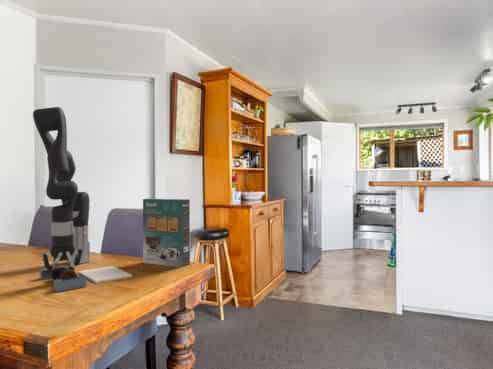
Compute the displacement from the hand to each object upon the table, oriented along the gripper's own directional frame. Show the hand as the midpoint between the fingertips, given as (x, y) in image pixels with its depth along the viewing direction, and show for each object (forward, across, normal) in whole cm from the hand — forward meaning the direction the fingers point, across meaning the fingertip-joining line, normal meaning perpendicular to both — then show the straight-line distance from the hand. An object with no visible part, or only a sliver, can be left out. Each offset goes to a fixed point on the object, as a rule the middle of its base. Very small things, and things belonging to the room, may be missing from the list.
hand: (62, 278), depth 135 cm
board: (+1, -16, 0) cm, 16 cm away
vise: (+2, 0, -3) cm, 3 cm away
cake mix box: (+2, -45, -2) cm, 45 cm away
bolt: (+1, 0, 0) cm, 1 cm away
